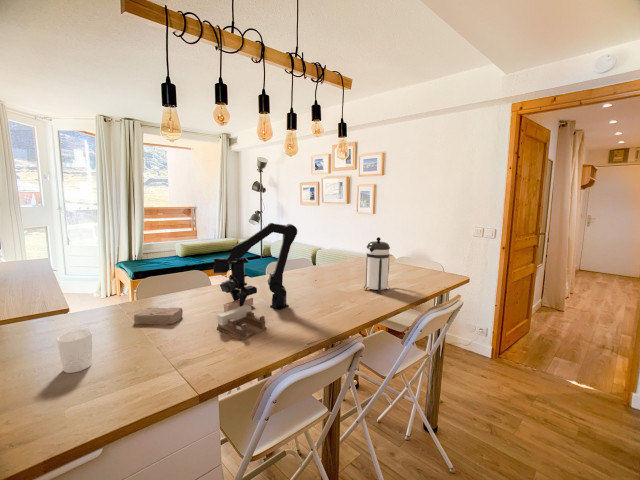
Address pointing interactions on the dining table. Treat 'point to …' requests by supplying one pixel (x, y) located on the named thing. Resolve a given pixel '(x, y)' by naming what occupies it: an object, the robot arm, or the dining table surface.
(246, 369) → the dining table surface
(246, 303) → the clay strip
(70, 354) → the white cup
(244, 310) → the strip
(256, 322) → the rack
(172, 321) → the brick
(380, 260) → the coffee press
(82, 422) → the dining table surface
